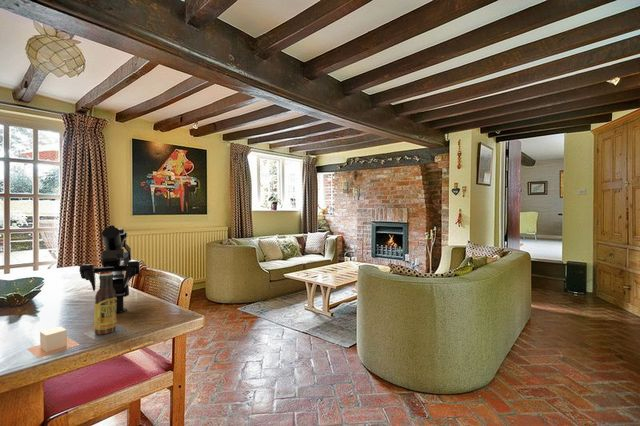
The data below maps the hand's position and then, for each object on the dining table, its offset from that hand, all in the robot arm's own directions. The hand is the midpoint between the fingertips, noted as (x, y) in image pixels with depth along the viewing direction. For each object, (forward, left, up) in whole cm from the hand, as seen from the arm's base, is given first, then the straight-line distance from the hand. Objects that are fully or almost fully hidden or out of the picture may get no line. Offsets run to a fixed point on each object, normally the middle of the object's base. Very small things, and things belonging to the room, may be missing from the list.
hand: (109, 288), depth 113 cm
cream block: (+6, -18, -13) cm, 23 cm away
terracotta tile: (+6, -18, -14) cm, 23 cm away
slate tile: (+7, -4, -14) cm, 16 cm away
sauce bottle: (+6, -4, -13) cm, 15 cm away
